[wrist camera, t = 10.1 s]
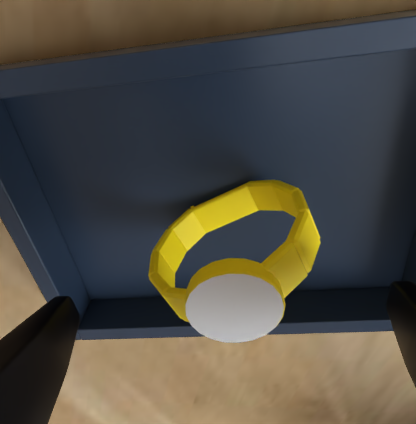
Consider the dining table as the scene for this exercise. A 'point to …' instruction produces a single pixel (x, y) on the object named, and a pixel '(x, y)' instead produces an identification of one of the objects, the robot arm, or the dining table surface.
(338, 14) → the dining table surface
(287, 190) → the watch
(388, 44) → the tray
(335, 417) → the dining table surface
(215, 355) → the dining table surface
